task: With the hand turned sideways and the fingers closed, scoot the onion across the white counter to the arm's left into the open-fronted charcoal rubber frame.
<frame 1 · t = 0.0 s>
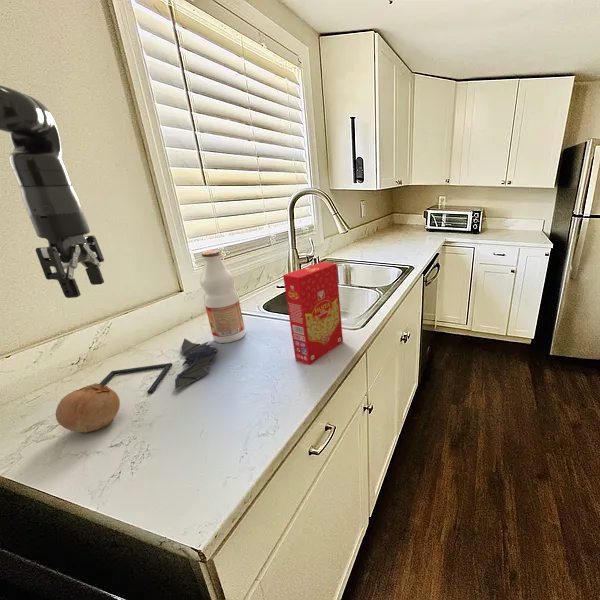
hand: (86, 290, 68), 26 cm above the worktop, tool pointing down, fingers open, 8 cm apart
onion: (96, 426, 68), on the worktop
decorative bat: (200, 361, 92), on the worktop
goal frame: (130, 384, 82), on the worktop
fruit juice: (230, 337, 105), on the worktop
food packaging: (320, 351, 96), on the worktop
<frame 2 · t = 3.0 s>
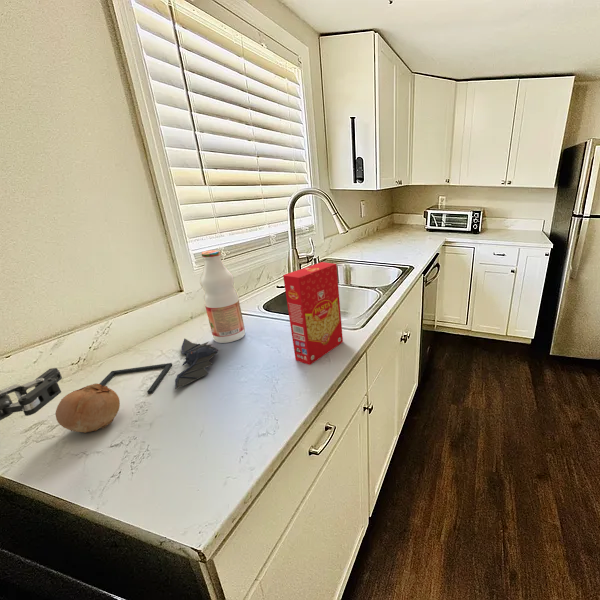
hand: (23, 377, 53), 18 cm above the worktop, tool horizontal, fingers open, 8 cm apart
nothing on the worktop moved.
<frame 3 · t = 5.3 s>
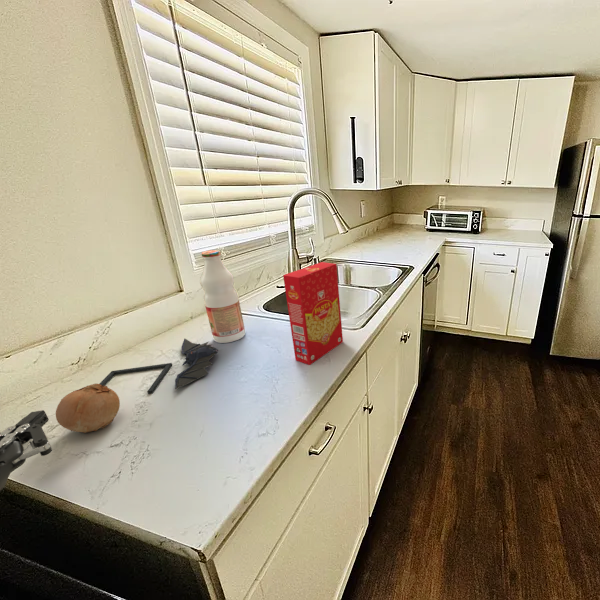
hand: (40, 415, 55), 11 cm above the worktop, tool horizontal, fingers closed
nothing on the worktop moved.
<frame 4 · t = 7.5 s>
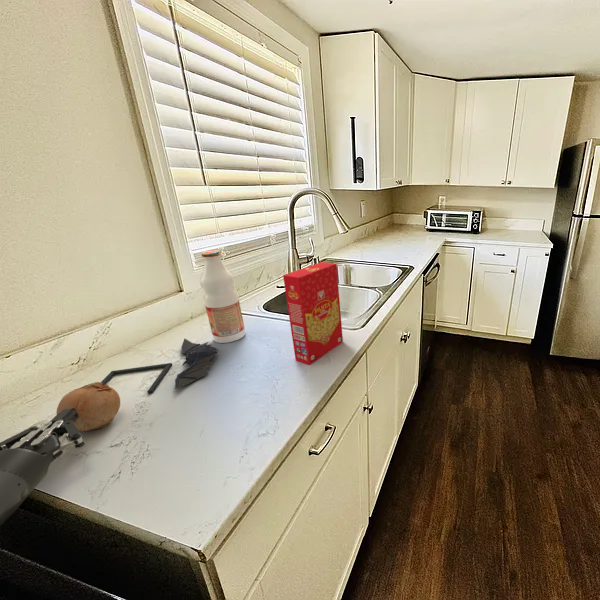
hand: (71, 412, 62), 7 cm above the worktop, tool horizontal, fingers closed
onion: (97, 425, 68), on the worktop, touching gripper
everything else where it was.
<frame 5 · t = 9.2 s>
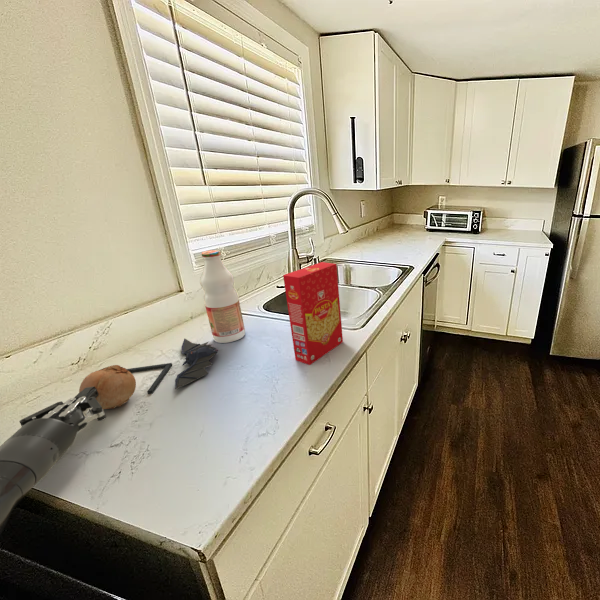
hand: (92, 390, 68), 7 cm above the worktop, tool horizontal, fingers closed
onion: (114, 404, 74), on the worktop, touching gripper
everything else where it was.
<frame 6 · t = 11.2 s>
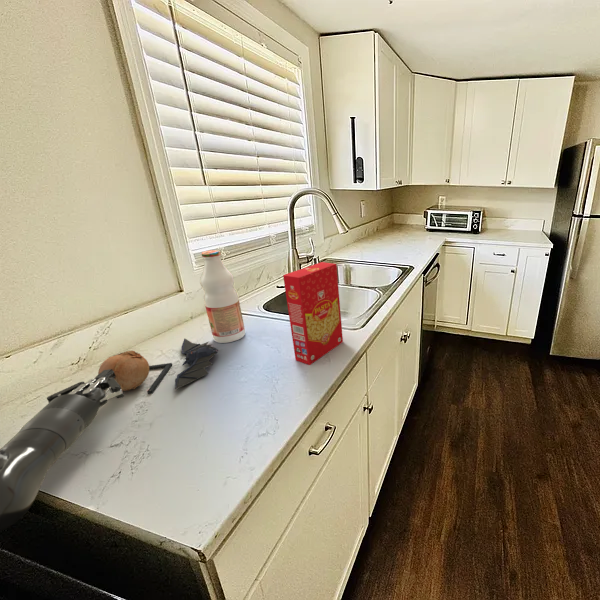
hand: (109, 372, 74), 7 cm above the worktop, tool horizontal, fingers closed
onion: (129, 387, 80), on the worktop, touching gripper
everything else where it was.
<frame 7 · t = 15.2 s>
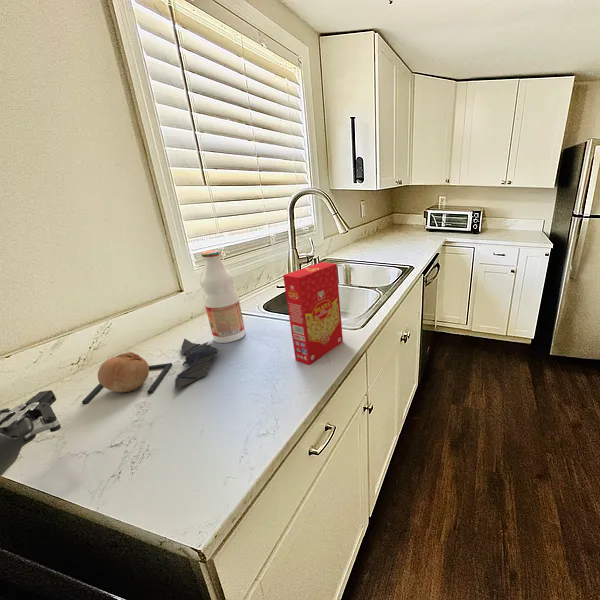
hand: (48, 395, 57), 13 cm above the worktop, tool horizontal, fingers closed
onion: (130, 388, 80), on the worktop
everything else where it was.
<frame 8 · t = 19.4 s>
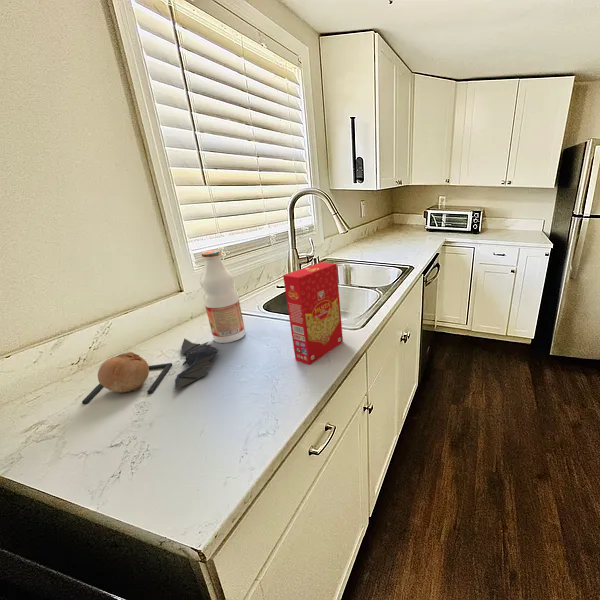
nothing on the worktop moved.
at the end: onion inside the target area (1.5 cm from its centre), on the worktop; onion moved 13.3 cm from its start; decorative bat moved 0.2 cm from its start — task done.
